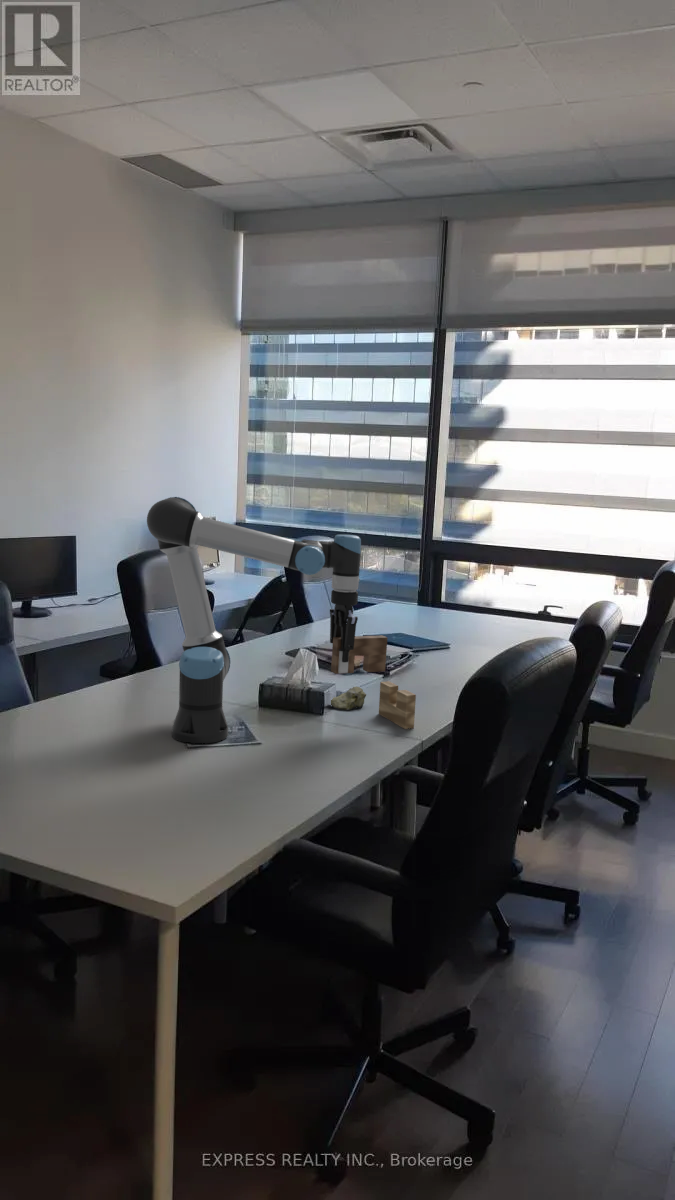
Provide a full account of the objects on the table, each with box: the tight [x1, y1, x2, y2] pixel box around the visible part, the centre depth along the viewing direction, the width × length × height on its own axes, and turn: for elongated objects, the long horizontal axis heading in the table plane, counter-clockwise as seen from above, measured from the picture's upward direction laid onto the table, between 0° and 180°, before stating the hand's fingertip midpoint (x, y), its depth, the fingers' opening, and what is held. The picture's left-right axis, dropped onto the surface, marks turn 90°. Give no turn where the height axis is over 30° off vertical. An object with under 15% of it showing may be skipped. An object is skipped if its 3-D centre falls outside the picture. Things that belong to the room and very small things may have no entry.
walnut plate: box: [330, 634, 388, 675], centre depth 259 cm, size 16×3×10 cm, turn 116°
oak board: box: [378, 680, 417, 730], centre depth 268 cm, size 3×16×10 cm, turn 26°
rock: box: [331, 686, 367, 711], centre depth 281 cm, size 11×6×10 cm
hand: (340, 671), depth 257 cm, fingers closed on walnut plate, 3 cm apart
